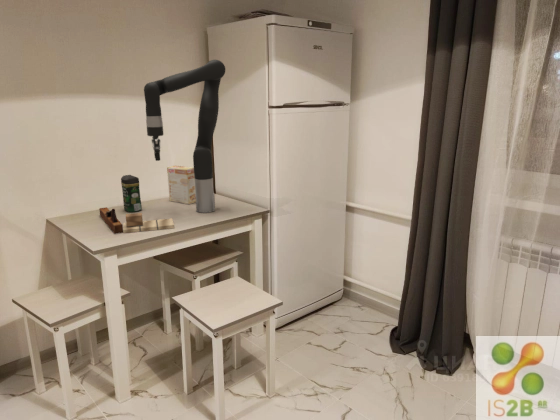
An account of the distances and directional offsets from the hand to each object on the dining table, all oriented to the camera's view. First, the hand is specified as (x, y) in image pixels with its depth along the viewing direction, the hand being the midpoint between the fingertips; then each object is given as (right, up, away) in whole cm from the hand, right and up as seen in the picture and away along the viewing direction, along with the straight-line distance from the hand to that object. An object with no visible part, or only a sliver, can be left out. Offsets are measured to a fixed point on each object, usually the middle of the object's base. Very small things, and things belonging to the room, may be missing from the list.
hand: (157, 159), depth 215 cm
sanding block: (-6, -32, -15) cm, 35 cm away
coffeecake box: (+5, -20, +33) cm, 39 cm away
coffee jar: (-17, -25, +15) cm, 34 cm away
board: (-1, -33, -12) cm, 35 cm away
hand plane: (-20, -32, -6) cm, 38 cm away
